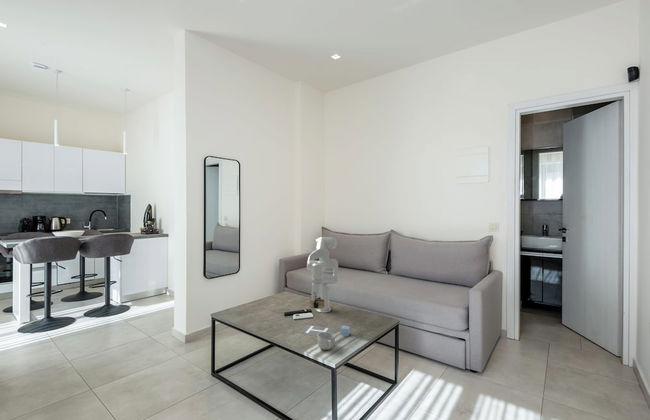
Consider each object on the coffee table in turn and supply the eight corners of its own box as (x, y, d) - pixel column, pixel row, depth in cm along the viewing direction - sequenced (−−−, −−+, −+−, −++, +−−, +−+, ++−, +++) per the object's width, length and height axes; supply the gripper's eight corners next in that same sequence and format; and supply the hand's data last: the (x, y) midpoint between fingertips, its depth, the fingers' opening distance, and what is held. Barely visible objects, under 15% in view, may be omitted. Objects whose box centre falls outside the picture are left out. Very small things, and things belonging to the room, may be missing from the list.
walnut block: (312, 305, 219) (312, 298, 219) (324, 306, 216) (324, 299, 216) (309, 307, 214) (309, 300, 214) (322, 309, 211) (322, 301, 211)
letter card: (306, 324, 225) (306, 324, 225) (334, 328, 219) (334, 328, 219) (299, 332, 212) (299, 332, 212) (328, 336, 206) (328, 336, 206)
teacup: (317, 343, 196) (317, 331, 196) (334, 343, 197) (334, 330, 197) (318, 354, 182) (318, 341, 182) (336, 354, 183) (336, 340, 183)
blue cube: (342, 332, 213) (342, 325, 213) (349, 333, 211) (349, 326, 211) (340, 335, 208) (340, 328, 208) (347, 336, 206) (347, 329, 206)
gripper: (316, 277, 224) (316, 302, 224) (307, 283, 207) (307, 310, 208) (326, 278, 221) (325, 303, 222) (318, 284, 205) (318, 311, 206)
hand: (317, 306), depth 215 cm, fingers closed on walnut block, 5 cm apart
